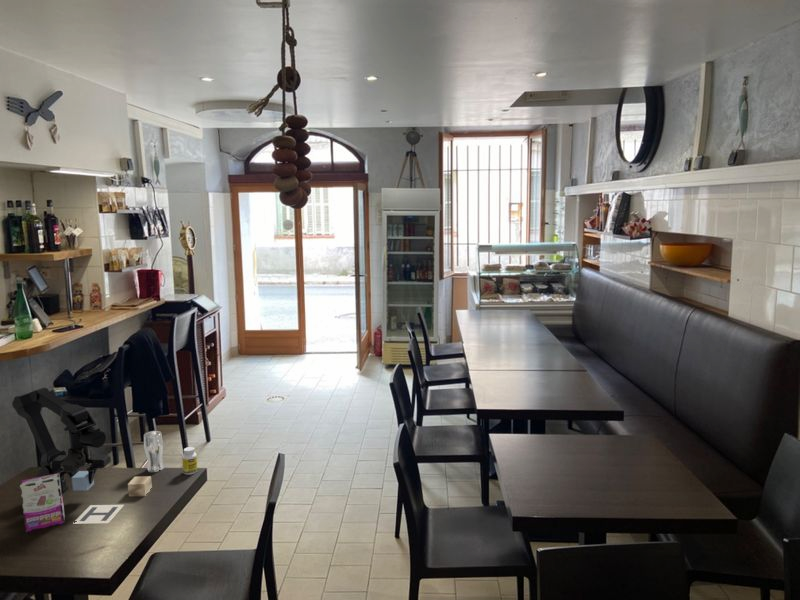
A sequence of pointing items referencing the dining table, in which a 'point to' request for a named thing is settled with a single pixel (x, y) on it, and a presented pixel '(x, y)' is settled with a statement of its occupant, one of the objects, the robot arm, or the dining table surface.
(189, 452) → the supplement bottle
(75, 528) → the dining table surface
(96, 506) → the letter board
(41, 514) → the candy bar box
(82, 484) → the blue cube
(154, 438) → the beer glass
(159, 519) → the dining table surface
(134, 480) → the oak block
